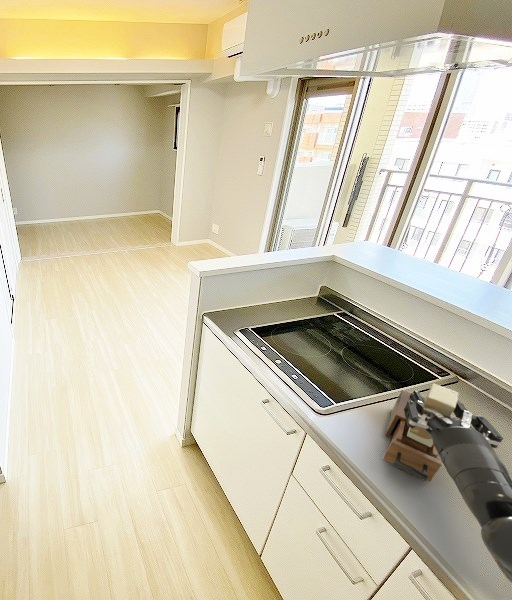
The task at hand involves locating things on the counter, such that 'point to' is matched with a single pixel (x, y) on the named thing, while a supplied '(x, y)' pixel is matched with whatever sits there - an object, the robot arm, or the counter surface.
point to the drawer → (412, 454)
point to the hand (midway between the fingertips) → (433, 398)
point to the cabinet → (398, 413)
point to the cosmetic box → (441, 402)
